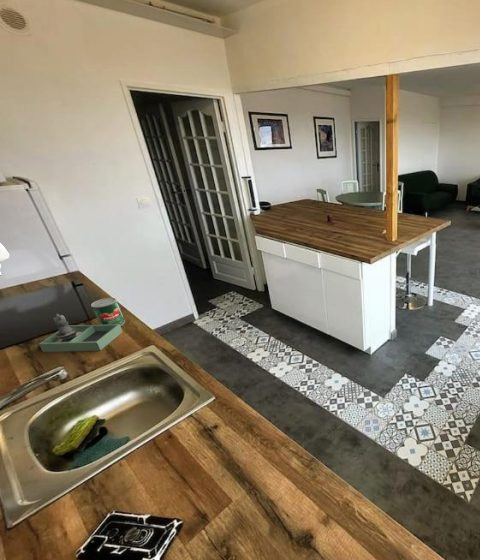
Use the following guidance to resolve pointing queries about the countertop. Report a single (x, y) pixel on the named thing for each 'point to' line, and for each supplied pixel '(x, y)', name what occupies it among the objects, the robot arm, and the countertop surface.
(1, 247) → the robot arm
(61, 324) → the grey statuette
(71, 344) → the tray
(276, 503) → the countertop surface
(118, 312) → the canned tomato
